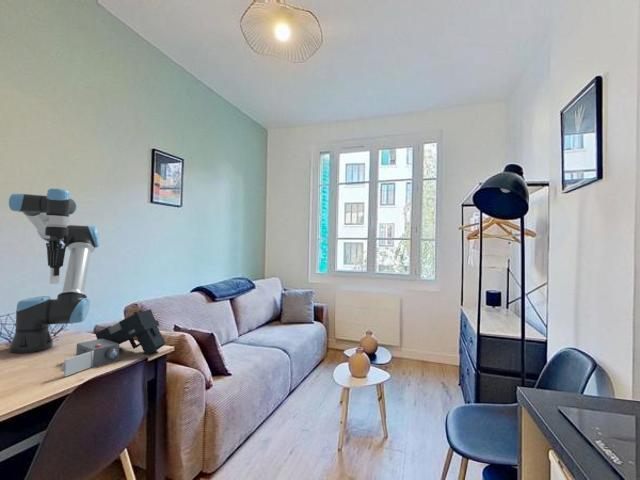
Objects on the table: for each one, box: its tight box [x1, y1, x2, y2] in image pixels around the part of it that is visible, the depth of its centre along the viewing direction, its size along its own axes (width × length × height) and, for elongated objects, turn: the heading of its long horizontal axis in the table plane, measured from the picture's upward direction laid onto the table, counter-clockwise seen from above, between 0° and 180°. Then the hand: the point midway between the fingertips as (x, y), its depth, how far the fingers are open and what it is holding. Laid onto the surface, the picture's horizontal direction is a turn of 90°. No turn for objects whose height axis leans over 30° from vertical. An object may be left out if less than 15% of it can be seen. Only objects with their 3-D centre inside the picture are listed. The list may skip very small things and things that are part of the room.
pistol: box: [94, 308, 167, 356], centre depth 154 cm, size 10×27×20 cm, turn 79°
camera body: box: [75, 338, 120, 368], centre depth 139 cm, size 16×10×8 cm, turn 59°
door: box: [61, 350, 94, 377], centre depth 127 cm, size 11×2×6 cm, turn 164°
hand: (54, 283), depth 137 cm, fingers closed
